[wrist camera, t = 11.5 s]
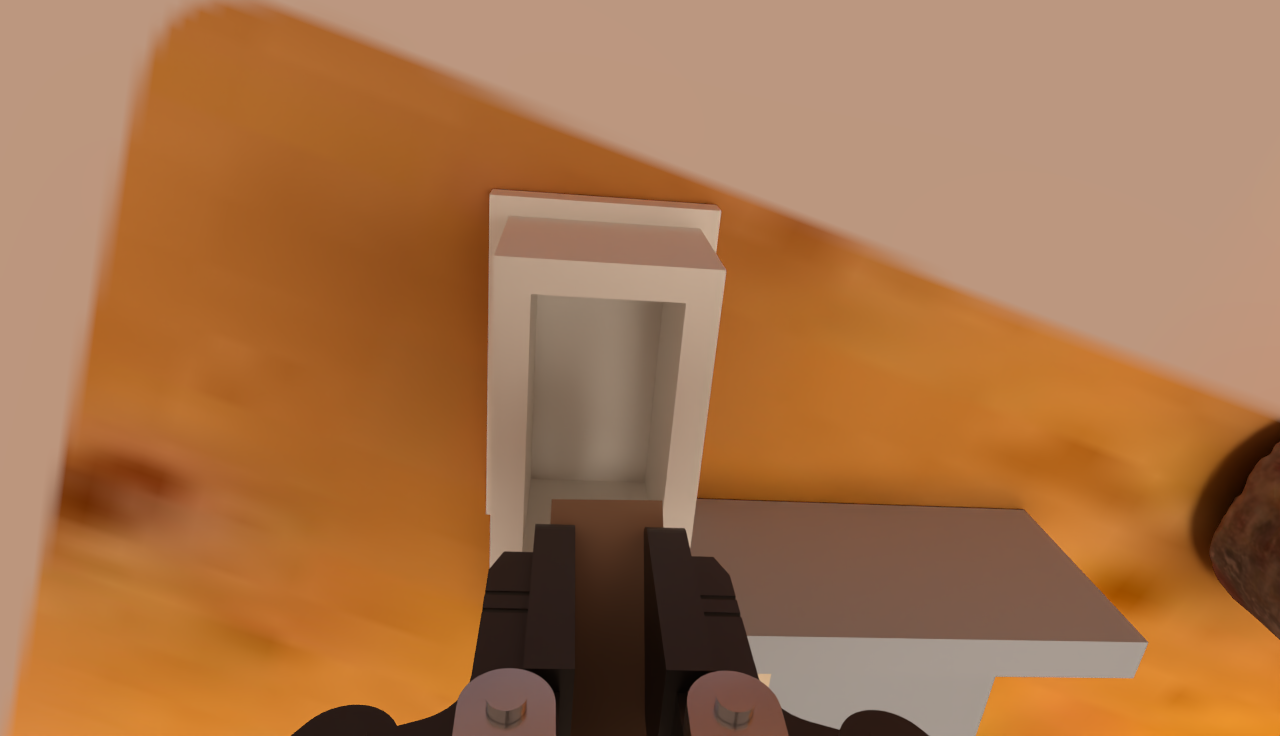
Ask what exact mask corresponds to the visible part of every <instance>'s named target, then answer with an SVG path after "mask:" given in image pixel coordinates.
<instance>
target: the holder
mask: <svg viewBox="0 0 1280 736" xmlns="http://www.w3.org/2000/svg"><path fill="white" fill-rule="evenodd" d="M720 218H721V210H720V209H719V207H718V206H717V205H712V204H698V203H684V202H670V201H656V200H642V199H628V198H614V197H600V196H586V195H572V194H558V193H543V192H529V191H515V190H501V189H492V191H491V193H490V200H489V291H488V381H487V472H486V514H489V515H490V568H491V566H492V565H493V564H494V563H495V562H496V560H497V559H498V558H499V557H500V556H501V554H502V553H503V552H504V551H510V552H533V545H534V533H535V524H550V522H551V502H552V499H581V500H662V506H663V527H664V528H685V530H686V533H687V537H688V542H689V546H691V538H692V531H693V523H694V515H695V508H696V500H697V492H698V485H699V477H700V469H701V462H702V454H703V446H704V439H705V431H706V423H707V416H708V408H709V400H710V393H711V385H712V377H713V370H714V362H715V354H716V347H717V339H718V331H719V324H720V316H721V308H722V301H723V293H724V285H725V278H726V269H725V267H724V266H723V264H722V262H721V261H720V259H719V258H718V256H717V254H716V250H717V242H718V234H719V226H720Z"/></svg>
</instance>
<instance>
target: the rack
mask: <svg viewBox="0 0 1280 736" xmlns="http://www.w3.org/2000/svg"><path fill="white" fill-rule="evenodd" d="M690 551H691V556H703V557H714V558H715V559H716V560H717V561H718V562H719V564H720V565H721V566H722V567H723V568H724V569H725V570H726V571H727V573H728V574H729V575H730V577H731V581H732V585H733V588H734V592H735V595H736V600H737V602H738V606H739V609H740V617H742V620H743V624H744V627H745V631H746V634H747V638H748V641H749V645H750V649H751V652H752V656H753V659H754V663H755V666H756V670H757V673H758V674H771V678H770V683H769V688H770V689H771V691H772V692H773V693H774V694H775V695H776V697H777V699H778V700H779V703H780V706H781V708H782V709H784V710H785V711H787V712H789V713H790V714H792V715H794V716H796V717H799V718H801V719H804V720H807V721H810V722H813V723H817V724H821V725H824V726H828V727H831V728H835V729H839V730H840V728H841V725H842V724H843V722H844V721H845V719H847V718H848V717H849V716H850V715H852V714H854V713H856V712H860V711H864V710H880V711H886V712H890V713H893V714H896V715H898V716H901V717H903V718H905V719H907V720H909V721H910V722H912V723H913V724H915V725H916V726H918V727H919V728H920V729H922V730H923V731H924V732H925V733H927V734H928V735H929V736H976V733H977V730H978V727H979V724H980V721H981V718H982V715H983V712H984V709H985V706H986V703H987V700H988V697H989V694H990V691H991V688H992V685H993V682H994V679H995V677H1080V678H1134V675H1135V673H1136V671H1137V668H1138V666H1139V664H1140V661H1141V659H1142V656H1143V654H1144V652H1145V649H1146V647H1147V645H1148V642H1147V641H1146V639H1145V638H1144V637H1143V636H1142V635H1141V634H1140V633H1139V632H1138V631H1137V630H1136V629H1135V628H1134V627H1133V626H1132V624H1131V623H1130V622H1129V621H1128V620H1127V619H1126V618H1125V617H1124V616H1123V615H1122V614H1121V613H1120V612H1119V611H1118V609H1117V608H1116V607H1115V606H1114V605H1113V604H1112V603H1111V602H1110V601H1109V600H1108V599H1107V598H1106V597H1105V596H1104V594H1103V593H1102V592H1101V591H1100V590H1099V589H1098V588H1097V587H1096V586H1095V585H1094V584H1093V583H1092V582H1091V581H1090V580H1089V578H1088V577H1087V576H1086V575H1085V574H1084V573H1083V572H1082V571H1081V570H1080V569H1079V568H1078V567H1077V566H1076V565H1075V563H1074V562H1073V561H1072V560H1071V559H1070V558H1069V557H1068V556H1067V555H1066V554H1065V553H1064V552H1063V551H1062V550H1061V548H1060V547H1059V546H1058V545H1057V544H1056V543H1055V542H1054V541H1053V540H1052V539H1051V538H1050V537H1049V536H1048V535H1047V533H1046V532H1045V531H1044V530H1043V529H1042V528H1041V527H1040V526H1039V525H1038V524H1037V523H1036V522H1035V521H1034V520H1033V518H1032V517H1031V516H1030V515H1029V514H1028V513H1027V512H1026V511H1025V510H1016V509H987V508H957V507H928V506H898V505H868V504H839V503H809V502H779V501H750V500H720V499H697V500H696V508H695V515H694V523H693V531H692V538H691V546H690Z"/></svg>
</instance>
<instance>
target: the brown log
mask: <svg viewBox="0 0 1280 736" xmlns="http://www.w3.org/2000/svg"><path fill="white" fill-rule="evenodd" d="M1209 556H1210V558H1211V561H1212V564H1213V569H1214V572H1215V574H1216V576H1217V579H1218V580H1219V582H1220V583H1221V584H1222V585H1223V587H1224V588H1225V589H1226V590H1227V591H1228V593H1229V594H1230V595H1231V596H1232V598H1233V599H1235V600H1236V601H1237V602H1238V603H1239V604H1240V605H1242V606H1243V607H1244V608H1245V609H1246V610H1248V611H1249V612H1250V613H1251V614H1252V615H1253V616H1255V617H1256V618H1257V619H1258V620H1259V621H1260V622H1261V623H1262V624H1263V625H1264V626H1266V627H1267V628H1268V629H1269V630H1270V631H1271V632H1272V633H1273V634H1274V635H1275V636H1276V637H1277V638H1279V639H1280V442H1278V443H1277V444H1276V445H1275V446H1274V448H1273V450H1272V452H1271V454H1269V455H1267V456H1265V457H1263V458H1262V459H1260V461H1259V462H1258V463H1257V464H1256V465H1255V467H1254V469H1253V470H1252V472H1251V473H1250V475H1249V476H1248V479H1247V482H1246V485H1245V487H1244V490H1243V492H1242V494H1241V495H1240V496H1236V497H1235V498H1234V500H1233V502H1232V504H1231V506H1230V507H1229V509H1228V511H1227V513H1226V514H1225V515H1224V517H1223V518H1222V521H1221V522H1220V524H1219V526H1218V528H1217V529H1216V531H1215V532H1214V536H1213V539H1212V542H1211V545H1210V549H1209Z"/></svg>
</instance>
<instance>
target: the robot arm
mask: <svg viewBox="0 0 1280 736" xmlns="http://www.w3.org/2000/svg"><path fill="white" fill-rule="evenodd" d="M644 648H645V723H646V734H647V736H929V735H928V734H927V733H925V732H924V731H923V730H922V729H920V728H919V727H918V726H916V725H915V724H913V723H912V722H910V721H909V720H907V719H905V718H903V717H901V716H898V715H896V714H893V713H890V712H886V711H880V710H864V711H860V712H856V713H854V714H852V715H850V716H849V717H848V718H847V719H845V721H844V722H843V724H842V725H841V728H840V730H839V729H835V728H831V727H828V726H824V725H821V724H817V723H813V722H810V721H807V720H804V719H801V718H799V717H796V716H794V715H792V714H790V713H789V712H787V711H785V710H784V709H782V708H781V706H780V703H779V700H778V699H777V697H776V695H775V694H774V693H773V692H772V691H771V689H770V688H769V687H767V686H766V685H765V684H764V683H762V682H761V681H760V680H759V677H758V673H757V670H756V666H755V663H754V659H753V656H752V652H751V649H750V645H749V641H748V638H747V634H746V631H745V627H744V624H743V620H742V617H740V609H739V606H738V602H737V600H736V595H735V592H734V588H733V585H732V581H731V577H730V575H729V574H728V573H727V571H726V570H725V569H724V568H723V567H722V566H721V565H720V564H719V562H718V561H717V560H716V559H715V558H714V557H703V556H691V551H690V546H689V542H688V537H687V533H686V530H685V528H664V527H645V529H644ZM574 675H575V525H563V524H535V533H534V545H533V552H510V551H504V552H503V553H502V554H501V556H500V557H499V558H498V559H497V560H496V562H495V563H494V564H493V565H492V566H491V568H490V569H489V572H488V578H487V584H486V590H485V596H484V603H483V610H482V615H481V621H480V627H479V633H478V639H477V645H476V651H475V657H474V663H473V670H472V676H471V679H470V683H469V684H468V685H467V686H466V687H465V688H464V689H463V691H462V692H461V694H460V696H459V698H458V700H457V701H456V702H455V703H454V704H452V705H451V706H450V707H449V708H447V709H445V710H444V711H442V712H440V713H438V714H436V715H434V716H431V717H428V718H425V719H422V720H418V721H415V722H411V723H407V724H403V725H399V726H397V725H396V723H395V722H394V720H393V719H392V718H391V717H390V716H389V715H388V714H387V713H385V712H384V711H382V710H380V709H378V708H375V707H371V706H366V705H347V706H341V707H337V708H334V709H331V710H328V711H326V712H323V713H321V714H320V715H318V716H316V717H314V718H313V719H311V720H310V721H309V722H307V723H306V724H305V725H303V726H302V727H301V728H300V729H299V730H297V731H296V732H295V733H294V734H292V735H291V736H570V735H571V720H572V705H573V690H574Z"/></svg>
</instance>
